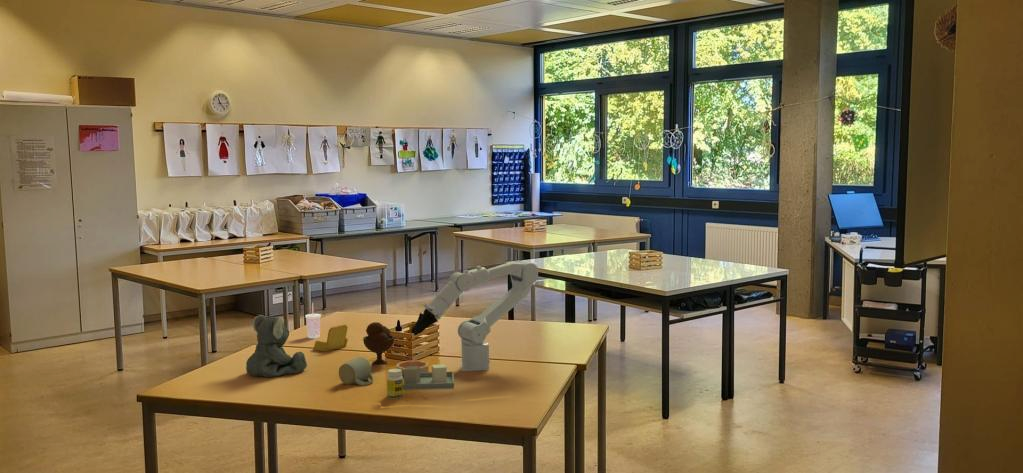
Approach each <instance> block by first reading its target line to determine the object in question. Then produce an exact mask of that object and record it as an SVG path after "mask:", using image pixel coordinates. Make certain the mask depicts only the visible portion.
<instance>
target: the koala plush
mask: <svg viewBox="0 0 1023 473" xmlns="http://www.w3.org/2000/svg"><path fill="white" fill-rule="evenodd" d="M285 322H286V321H285V318H283V317H281V316H280V317H276V316H271V315H270V316H268V317H266V316H265V315H263V314H258V315H256V316H254V318H253V326H252V327H253V331H254V332H255V333H256V340H257V344H256V346H255V349H254V352H253V353H252V354H251V355H250V356H249V357H248V358H247V360H246V363H245V364H246V366H245V368H246V373H247V374H248V375H250V376H252V377H254V378H255V377H258V378H259V377H262V376H263V377H266V378H272V377H273V378H274V377H279V376H282V375H293V374H298V373H301V372H303V371H305V369H306V368H307V367H308V364H307V359H306V356H305V353H304V352H302V351H298V352H295V353H294V354H293V355H292V356H291V355H289V354H287V353H286V351H285V349H284V347H283V346H284V345H285V344H286V342H287V340H288V339H289V336H290V331H289V329H287V327H286V325H285ZM247 374H246V375H247Z"/></svg>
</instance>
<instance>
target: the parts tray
mask: <svg viewBox="0 0 1023 473" xmlns="http://www.w3.org/2000/svg"><path fill="white" fill-rule="evenodd" d="M454 372H455V371H447V383H433V381H432V371H429V372H420V383H418V384H404V373H402V375H401V376H402V377H403V392H406V391H438V390H455V375H454V374H455V373H454Z"/></svg>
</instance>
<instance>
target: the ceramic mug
mask: <svg viewBox="0 0 1023 473" xmlns="http://www.w3.org/2000/svg"><path fill="white" fill-rule="evenodd" d="M338 377H339V379H340V381H341V382H342V383H343V384H344V385H350V386H351V385H355V384H357V385H359V386H369V385H372V384H373V383H374V377H373V375H372V365H371V363H370V362H369V361H368V360H367V359H366V358H365V357H363V356H357V357H355V358H353V359H351V360H349V361H348V360H347V361H346V362H344V363H343V364H341V366H339V368H338ZM367 380H370V381H368V382H367Z"/></svg>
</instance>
